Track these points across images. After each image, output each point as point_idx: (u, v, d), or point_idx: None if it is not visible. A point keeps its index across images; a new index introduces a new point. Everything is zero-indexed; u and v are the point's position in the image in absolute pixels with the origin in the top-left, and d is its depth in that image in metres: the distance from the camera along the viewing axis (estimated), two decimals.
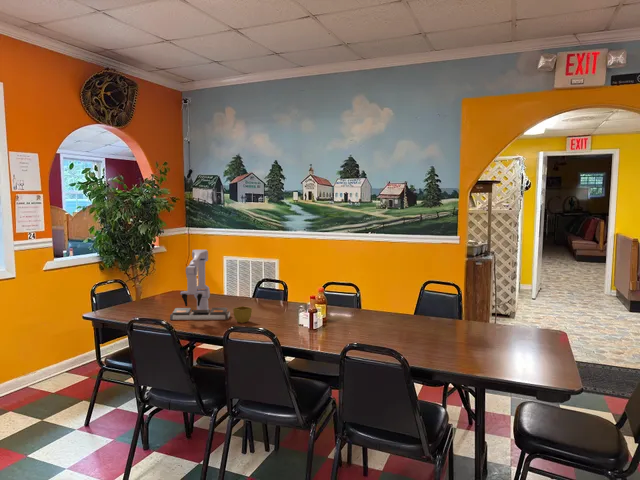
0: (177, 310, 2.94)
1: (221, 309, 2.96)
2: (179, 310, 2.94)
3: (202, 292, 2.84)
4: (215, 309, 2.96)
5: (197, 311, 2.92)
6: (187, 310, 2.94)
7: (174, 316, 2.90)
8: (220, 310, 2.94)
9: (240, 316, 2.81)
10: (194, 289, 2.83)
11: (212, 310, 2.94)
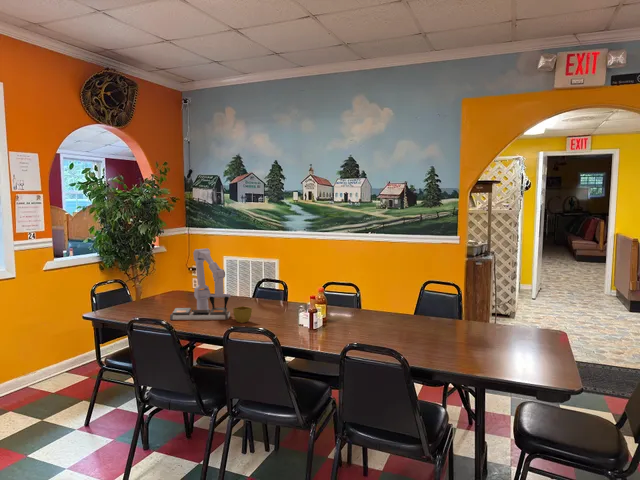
0: (177, 310, 2.94)
1: (221, 309, 2.96)
2: (179, 310, 2.94)
3: (229, 295, 2.96)
4: (215, 309, 2.96)
5: (197, 311, 2.92)
6: (187, 310, 2.94)
7: (174, 316, 2.90)
8: (220, 310, 2.94)
9: (240, 316, 2.81)
10: (221, 292, 2.95)
11: (212, 310, 2.94)
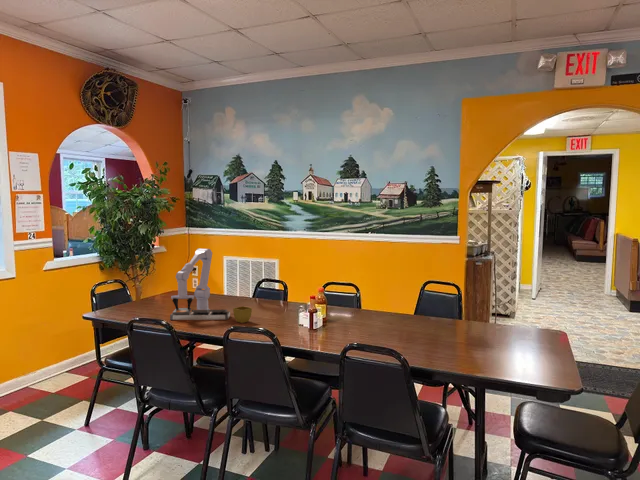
0: (177, 310, 2.94)
1: None
2: (179, 310, 2.94)
3: (192, 296, 2.95)
4: None
5: (197, 311, 2.92)
6: (187, 310, 2.94)
7: (174, 316, 2.90)
8: None
9: (240, 316, 2.81)
10: (184, 293, 2.94)
11: None
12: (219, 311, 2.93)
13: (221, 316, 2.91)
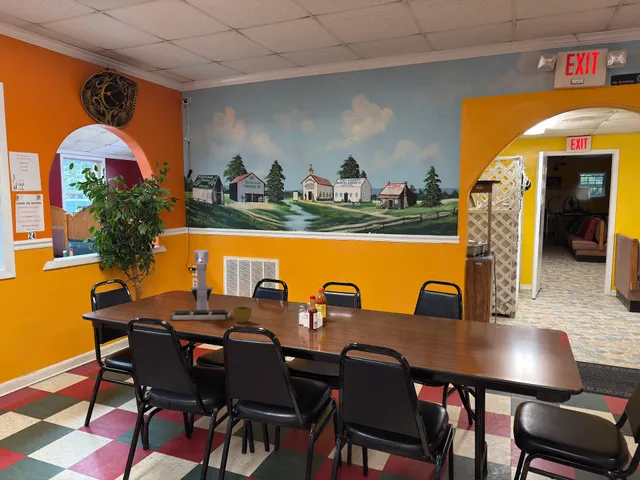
0: None
1: None
2: None
3: (211, 288, 2.98)
4: None
5: (197, 311, 2.92)
6: None
7: (174, 316, 2.90)
8: None
9: (240, 316, 2.81)
10: (204, 285, 2.97)
11: None
12: (219, 311, 2.93)
13: (221, 316, 2.91)
